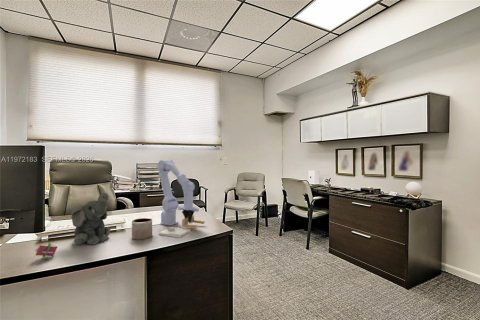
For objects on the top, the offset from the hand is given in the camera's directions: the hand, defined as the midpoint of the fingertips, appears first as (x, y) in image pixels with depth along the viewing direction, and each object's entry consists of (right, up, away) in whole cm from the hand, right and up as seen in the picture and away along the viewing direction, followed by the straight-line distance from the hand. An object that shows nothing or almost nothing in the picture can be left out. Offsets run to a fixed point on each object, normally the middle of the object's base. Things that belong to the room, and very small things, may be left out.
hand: (188, 221), depth 151 cm
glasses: (+4, -2, -1) cm, 4 cm away
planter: (-22, -4, -19) cm, 29 cm away
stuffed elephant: (-48, -4, -25) cm, 54 cm away
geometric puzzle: (-53, -4, -47) cm, 71 cm away
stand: (-5, -4, -12) cm, 14 cm away
